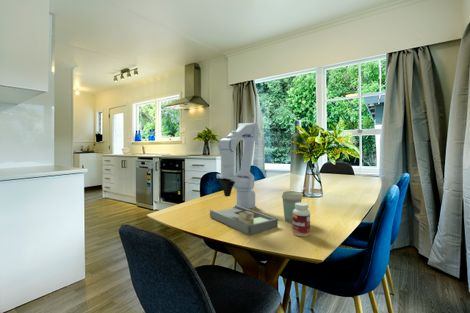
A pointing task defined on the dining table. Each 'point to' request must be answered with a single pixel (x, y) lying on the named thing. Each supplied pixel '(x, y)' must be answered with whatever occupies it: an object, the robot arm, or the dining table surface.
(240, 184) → the robot arm
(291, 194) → the coffee cup
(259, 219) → the box
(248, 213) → the birch block
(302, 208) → the pill bottle
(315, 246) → the dining table surface
